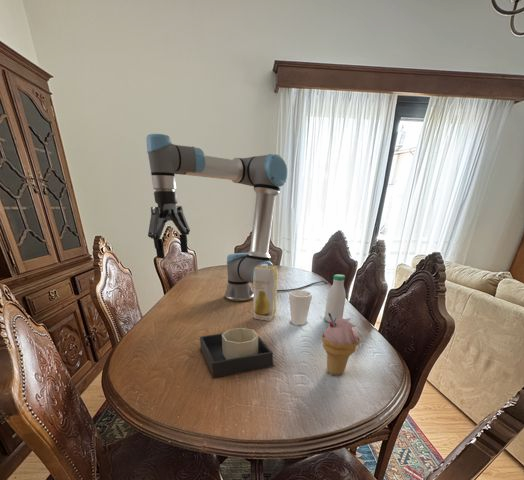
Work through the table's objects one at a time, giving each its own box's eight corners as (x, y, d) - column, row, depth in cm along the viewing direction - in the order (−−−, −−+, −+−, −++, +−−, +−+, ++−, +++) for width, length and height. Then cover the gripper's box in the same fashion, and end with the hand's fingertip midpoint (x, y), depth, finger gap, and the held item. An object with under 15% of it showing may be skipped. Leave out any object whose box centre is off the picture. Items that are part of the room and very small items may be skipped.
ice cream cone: (333, 385, 84) (342, 322, 74) (310, 367, 92) (317, 309, 83) (360, 376, 88) (373, 315, 79) (337, 360, 97) (346, 303, 87)
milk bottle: (342, 324, 124) (349, 278, 115) (324, 322, 126) (330, 277, 116) (341, 317, 131) (348, 273, 122) (324, 316, 132) (329, 272, 123)
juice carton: (251, 319, 128) (251, 264, 117) (258, 313, 135) (258, 261, 123) (271, 322, 125) (273, 266, 114) (277, 316, 132) (279, 262, 120)
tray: (252, 340, 109) (252, 328, 107) (272, 366, 93) (273, 352, 91) (201, 349, 103) (199, 336, 100) (213, 377, 87) (212, 363, 84)
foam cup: (311, 320, 128) (313, 291, 122) (307, 327, 120) (309, 298, 114) (290, 317, 131) (292, 289, 125) (285, 324, 123) (286, 295, 117)
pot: (216, 338, 90) (247, 345, 86) (233, 326, 99) (262, 331, 95) (217, 360, 94) (247, 367, 90) (234, 346, 103) (262, 352, 99)
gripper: (179, 191, 109) (185, 249, 119) (128, 189, 89) (141, 259, 99) (195, 191, 106) (200, 250, 117) (147, 189, 86) (158, 261, 96)
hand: (173, 255), depth 108 cm, fingers open, 13 cm apart
